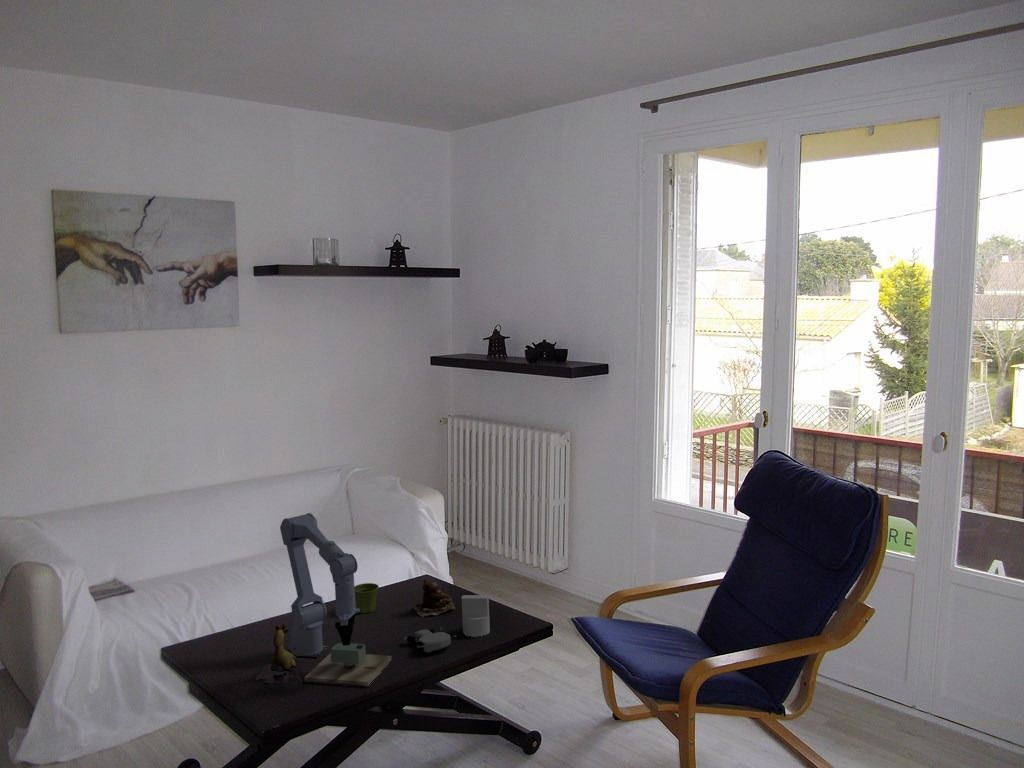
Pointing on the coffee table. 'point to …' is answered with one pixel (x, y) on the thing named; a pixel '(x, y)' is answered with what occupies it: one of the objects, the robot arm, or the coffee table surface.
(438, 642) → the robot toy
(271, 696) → the coffee table surface
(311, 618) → the robot arm
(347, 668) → the base
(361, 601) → the plant pot
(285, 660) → the stuffed giraffe
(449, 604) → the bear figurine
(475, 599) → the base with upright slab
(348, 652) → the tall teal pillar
